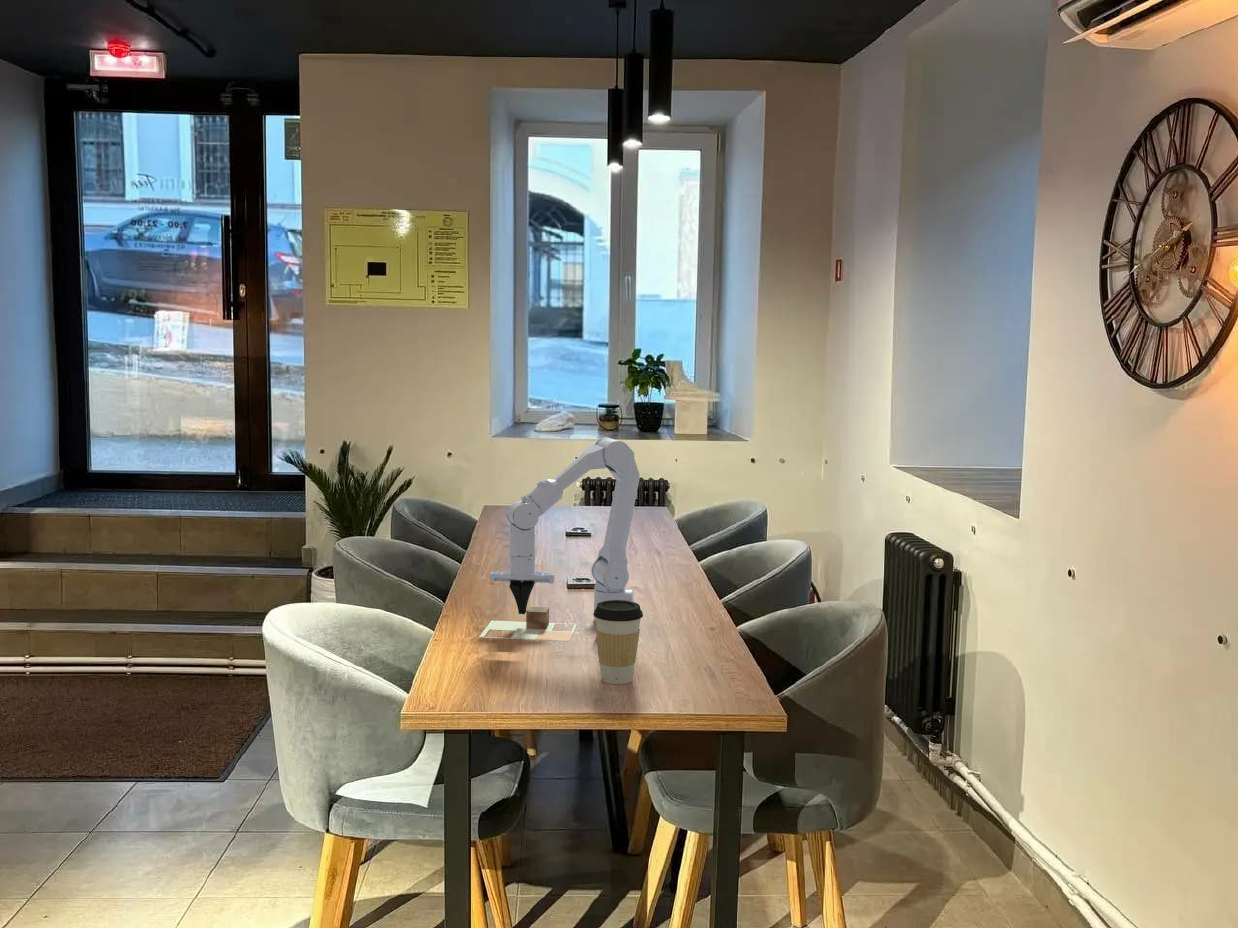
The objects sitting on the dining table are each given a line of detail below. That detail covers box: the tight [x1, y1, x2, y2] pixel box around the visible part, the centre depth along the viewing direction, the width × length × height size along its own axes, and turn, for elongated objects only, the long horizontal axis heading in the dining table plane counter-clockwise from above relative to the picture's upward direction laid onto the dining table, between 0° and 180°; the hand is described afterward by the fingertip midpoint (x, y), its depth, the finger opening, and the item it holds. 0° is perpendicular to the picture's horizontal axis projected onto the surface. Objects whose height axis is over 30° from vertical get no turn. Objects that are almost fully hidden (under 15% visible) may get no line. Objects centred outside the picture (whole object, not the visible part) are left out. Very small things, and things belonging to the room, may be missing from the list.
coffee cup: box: [593, 600, 644, 685], centre depth 209 cm, size 10×10×15 cm
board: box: [478, 620, 578, 642], centre depth 238 cm, size 20×14×2 cm
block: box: [525, 606, 550, 630], centre depth 241 cm, size 4×4×4 cm
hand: (522, 612), depth 241 cm, fingers closed
